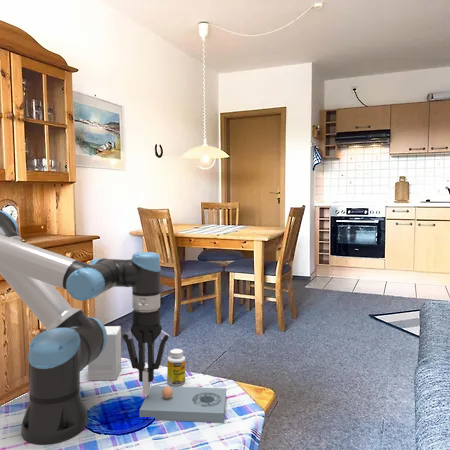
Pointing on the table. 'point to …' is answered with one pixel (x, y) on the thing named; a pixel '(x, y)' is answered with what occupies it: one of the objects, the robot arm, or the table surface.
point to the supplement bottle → (176, 368)
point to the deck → (185, 404)
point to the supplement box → (107, 357)
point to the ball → (167, 392)
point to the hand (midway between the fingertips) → (146, 392)
